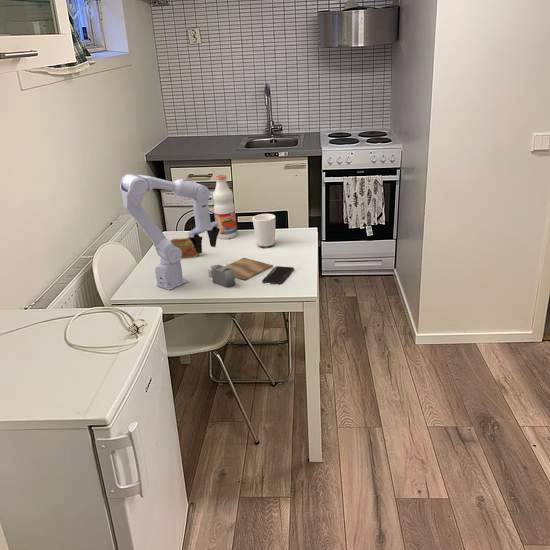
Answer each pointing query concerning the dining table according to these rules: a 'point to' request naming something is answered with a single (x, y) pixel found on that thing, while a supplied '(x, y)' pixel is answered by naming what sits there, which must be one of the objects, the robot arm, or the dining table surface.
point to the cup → (264, 229)
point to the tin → (185, 247)
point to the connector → (222, 276)
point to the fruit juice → (224, 209)
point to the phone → (278, 275)
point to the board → (248, 268)
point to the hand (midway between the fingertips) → (206, 249)
